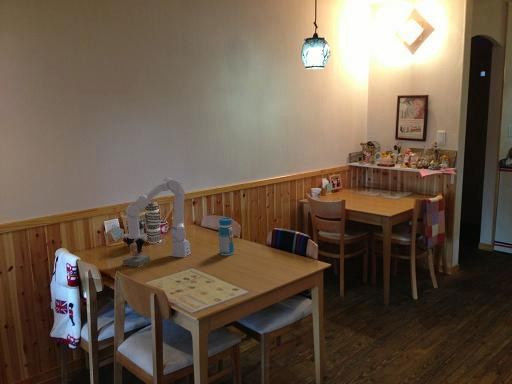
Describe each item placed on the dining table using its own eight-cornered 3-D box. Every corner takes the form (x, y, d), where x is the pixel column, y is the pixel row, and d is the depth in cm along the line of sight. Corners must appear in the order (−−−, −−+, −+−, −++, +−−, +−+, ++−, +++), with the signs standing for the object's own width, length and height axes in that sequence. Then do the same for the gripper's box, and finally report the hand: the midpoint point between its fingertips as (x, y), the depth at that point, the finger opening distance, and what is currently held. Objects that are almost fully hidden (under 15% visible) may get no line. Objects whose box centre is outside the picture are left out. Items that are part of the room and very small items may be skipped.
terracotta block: (142, 254, 251) (141, 243, 250) (137, 256, 247) (136, 245, 246) (135, 253, 253) (134, 242, 252) (130, 255, 249) (129, 245, 248)
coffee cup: (143, 251, 271) (141, 226, 268) (127, 251, 271) (125, 226, 268) (147, 246, 280) (145, 222, 277) (132, 246, 280) (129, 222, 278)
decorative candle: (165, 240, 291) (162, 201, 286) (154, 244, 283) (151, 204, 279) (154, 238, 296) (151, 200, 291) (144, 242, 288) (140, 203, 284)
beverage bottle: (221, 256, 257) (219, 221, 253) (218, 251, 265) (216, 217, 261) (235, 254, 259) (234, 220, 255) (232, 250, 267) (231, 216, 263)
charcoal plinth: (150, 261, 254) (149, 255, 253) (138, 267, 244) (138, 261, 244) (135, 259, 257) (134, 254, 257) (123, 265, 248) (122, 259, 248)
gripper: (117, 228, 246) (120, 252, 249) (140, 230, 241) (142, 255, 243) (126, 225, 253) (128, 248, 255) (148, 226, 247) (150, 251, 250)
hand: (135, 251), depth 250 cm, fingers closed on terracotta block, 4 cm apart
